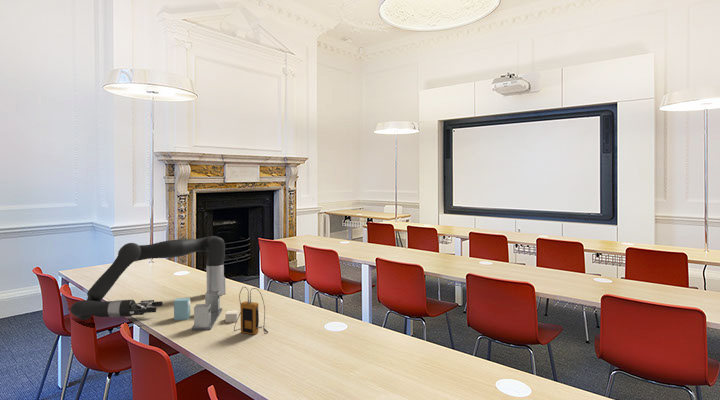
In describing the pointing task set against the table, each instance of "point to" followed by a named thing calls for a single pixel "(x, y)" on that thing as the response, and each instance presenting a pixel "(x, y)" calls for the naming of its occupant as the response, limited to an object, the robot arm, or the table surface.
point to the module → (181, 309)
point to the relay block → (231, 316)
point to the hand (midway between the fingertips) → (159, 306)
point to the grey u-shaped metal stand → (207, 311)
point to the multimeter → (249, 316)
